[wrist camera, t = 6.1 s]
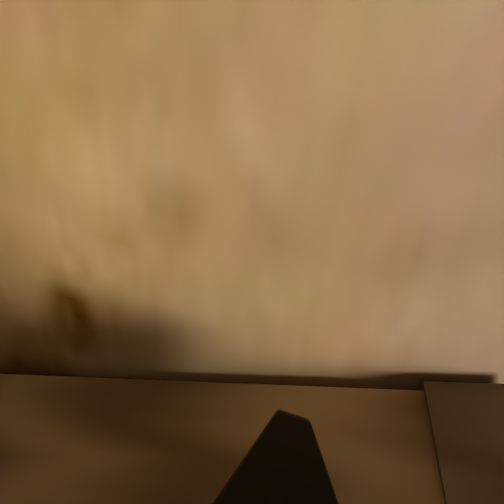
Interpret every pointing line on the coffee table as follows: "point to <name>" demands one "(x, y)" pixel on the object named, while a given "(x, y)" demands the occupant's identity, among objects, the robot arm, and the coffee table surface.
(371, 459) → the gate
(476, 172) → the coffee table surface
